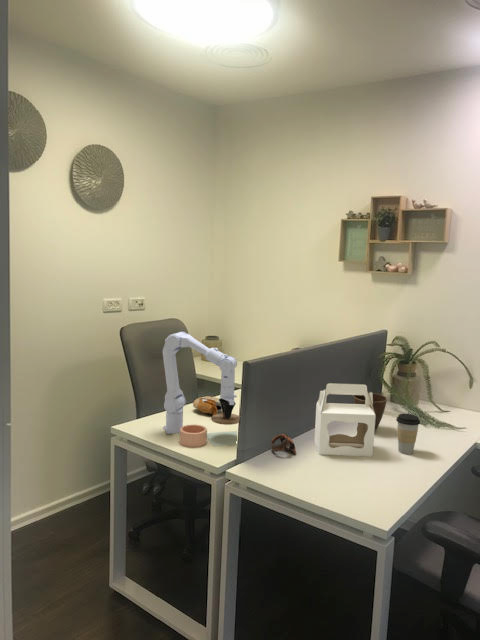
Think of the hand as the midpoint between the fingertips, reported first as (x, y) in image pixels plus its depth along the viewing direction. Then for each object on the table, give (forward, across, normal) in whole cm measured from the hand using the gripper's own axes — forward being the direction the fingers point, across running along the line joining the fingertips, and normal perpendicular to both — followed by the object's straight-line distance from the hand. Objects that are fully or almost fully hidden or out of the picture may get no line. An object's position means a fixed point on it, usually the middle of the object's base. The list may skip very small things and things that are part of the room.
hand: (226, 416), depth 215 cm
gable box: (+10, -21, -44) cm, 50 cm away
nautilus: (+10, +34, -1) cm, 36 cm away
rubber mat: (+10, 0, 0) cm, 10 cm away
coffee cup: (+10, -29, -70) cm, 76 cm away
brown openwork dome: (+10, -18, -19) cm, 28 cm away
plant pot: (+10, -3, -68) cm, 68 cm away
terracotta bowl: (+10, -1, +14) cm, 18 cm away
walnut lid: (+1, 0, 0) cm, 1 cm away
